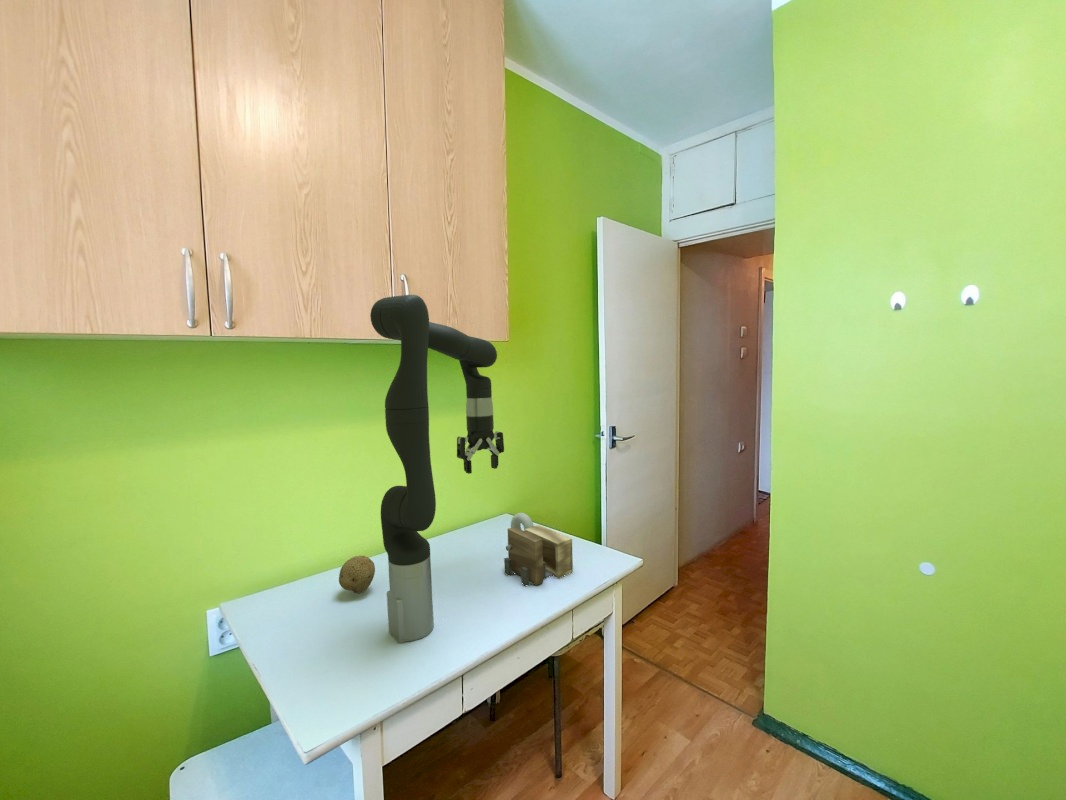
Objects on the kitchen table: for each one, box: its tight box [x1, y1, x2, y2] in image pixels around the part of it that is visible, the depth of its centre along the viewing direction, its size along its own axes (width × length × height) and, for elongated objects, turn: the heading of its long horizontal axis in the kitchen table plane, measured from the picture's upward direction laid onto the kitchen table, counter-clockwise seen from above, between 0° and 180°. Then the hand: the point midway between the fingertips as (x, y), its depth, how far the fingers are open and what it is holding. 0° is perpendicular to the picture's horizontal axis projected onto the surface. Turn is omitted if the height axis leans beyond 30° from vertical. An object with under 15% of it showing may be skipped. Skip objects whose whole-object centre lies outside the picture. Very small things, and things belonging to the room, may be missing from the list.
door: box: [505, 527, 544, 586], centre depth 130 cm, size 4×13×12 cm, turn 38°
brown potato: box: [338, 555, 376, 594], centre depth 123 cm, size 9×9×10 cm
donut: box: [510, 512, 535, 531], centre depth 155 cm, size 10×4×10 cm, turn 45°
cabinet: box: [503, 524, 574, 586], centre depth 133 cm, size 15×15×10 cm
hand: (481, 470), depth 131 cm, fingers open, 8 cm apart
